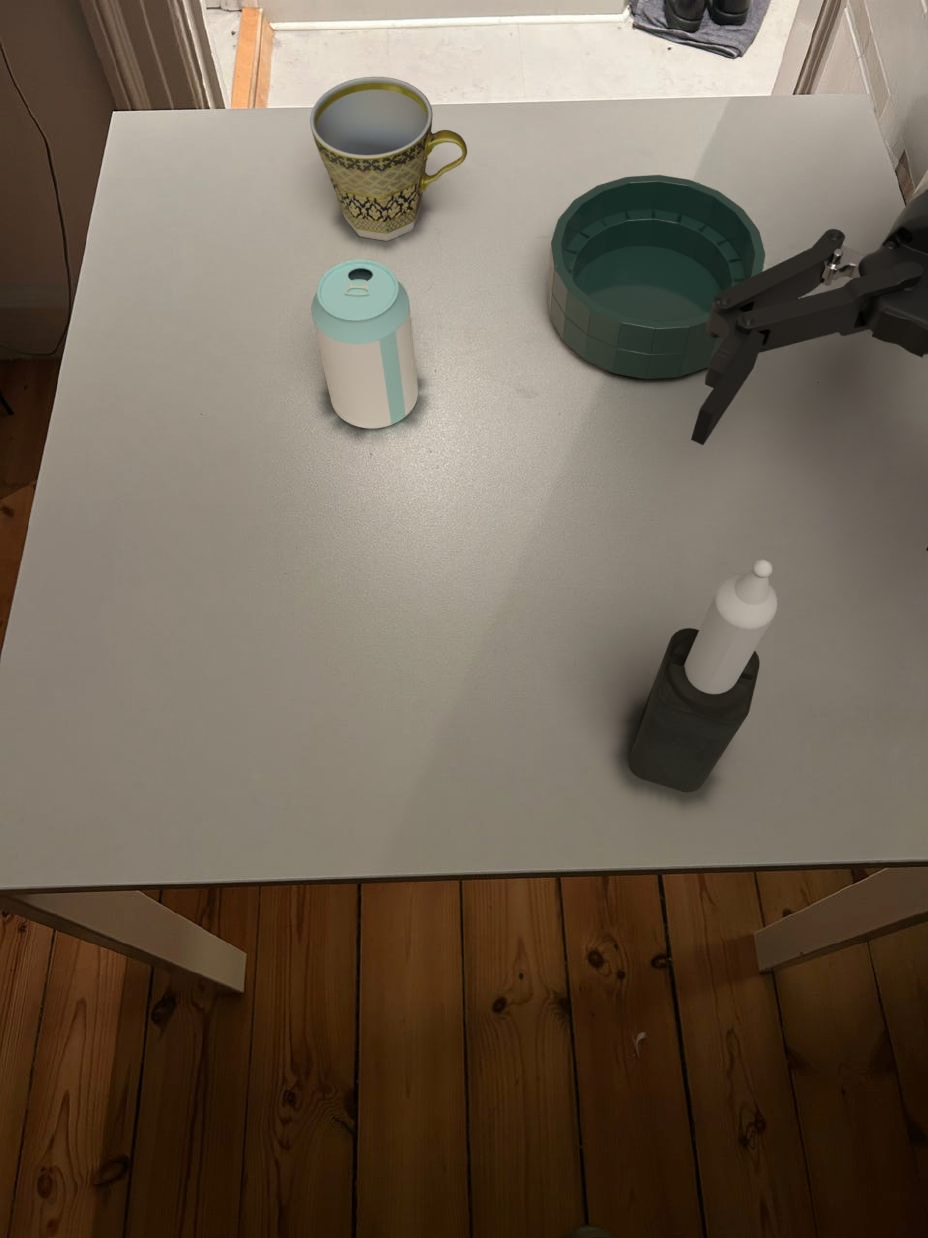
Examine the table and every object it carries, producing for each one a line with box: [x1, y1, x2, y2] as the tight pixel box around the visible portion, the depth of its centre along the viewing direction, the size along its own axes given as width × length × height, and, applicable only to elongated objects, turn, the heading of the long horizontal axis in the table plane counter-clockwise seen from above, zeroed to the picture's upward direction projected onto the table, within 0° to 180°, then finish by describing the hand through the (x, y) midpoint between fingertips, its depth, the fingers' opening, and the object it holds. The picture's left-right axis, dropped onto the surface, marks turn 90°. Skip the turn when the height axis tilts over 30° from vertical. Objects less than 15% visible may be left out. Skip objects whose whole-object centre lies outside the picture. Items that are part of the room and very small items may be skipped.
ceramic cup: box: [309, 76, 468, 242], centre depth 85 cm, size 13×10×10 cm
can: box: [311, 258, 419, 429], centre depth 75 cm, size 7×7×12 cm
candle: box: [628, 558, 778, 793], centre depth 55 cm, size 5×5×25 cm
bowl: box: [546, 174, 766, 380], centre depth 81 cm, size 17×17×6 cm
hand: (817, 482), depth 52 cm, fingers open, 13 cm apart
